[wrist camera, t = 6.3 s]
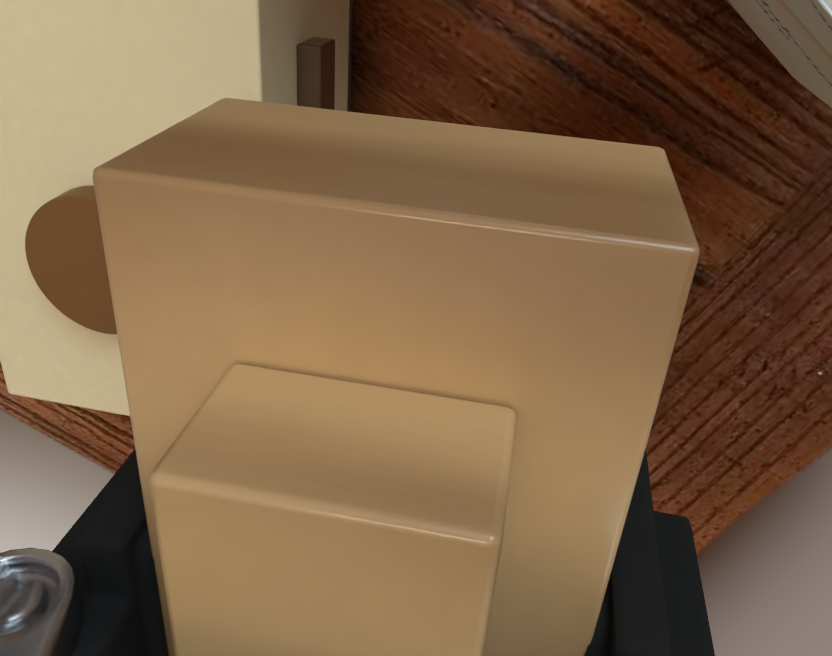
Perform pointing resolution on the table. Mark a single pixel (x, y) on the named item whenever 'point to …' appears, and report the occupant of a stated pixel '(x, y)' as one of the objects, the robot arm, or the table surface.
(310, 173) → the brush
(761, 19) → the cosmetic box
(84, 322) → the brown disc
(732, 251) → the table surface
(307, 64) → the bread box
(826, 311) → the table surface
